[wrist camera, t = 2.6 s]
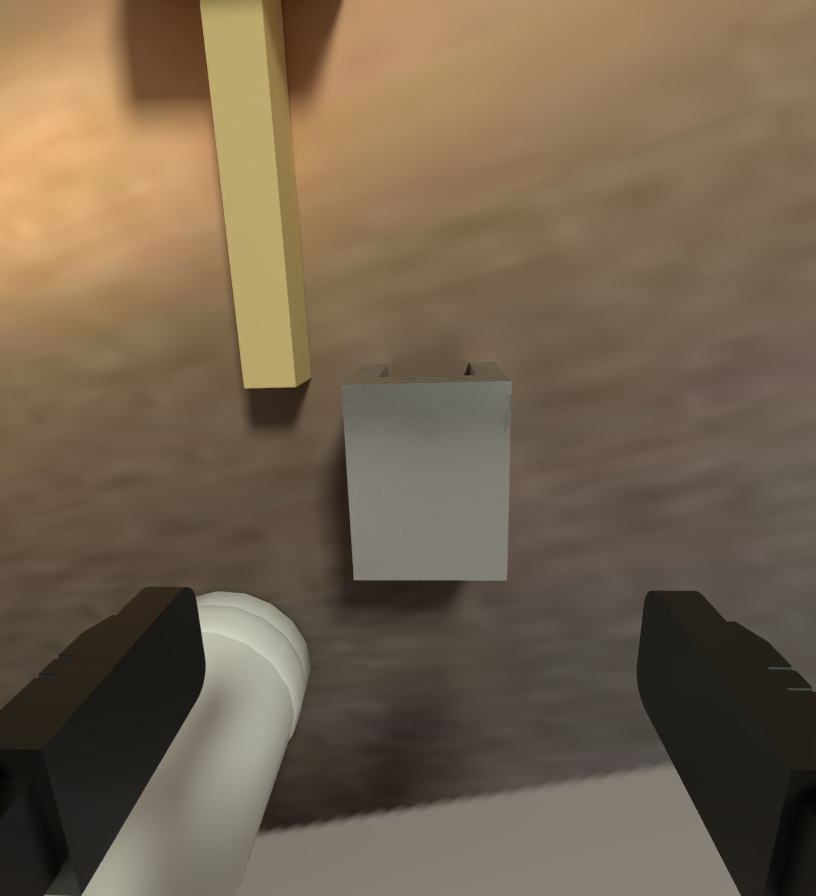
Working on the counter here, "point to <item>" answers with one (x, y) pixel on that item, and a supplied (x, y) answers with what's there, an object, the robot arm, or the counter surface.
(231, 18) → the yellow t-shaped block
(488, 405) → the slotted grey block
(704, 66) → the counter surface
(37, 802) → the robot arm
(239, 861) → the bottle
